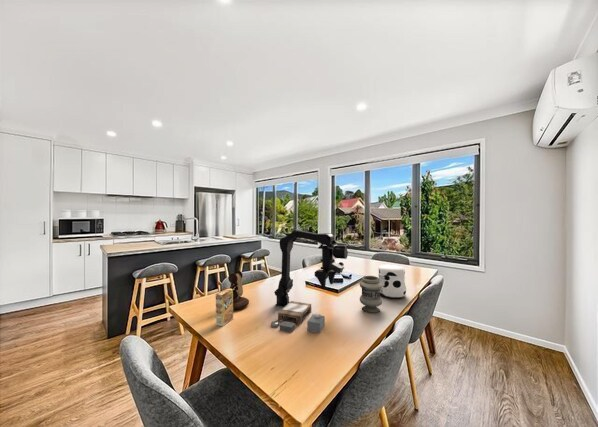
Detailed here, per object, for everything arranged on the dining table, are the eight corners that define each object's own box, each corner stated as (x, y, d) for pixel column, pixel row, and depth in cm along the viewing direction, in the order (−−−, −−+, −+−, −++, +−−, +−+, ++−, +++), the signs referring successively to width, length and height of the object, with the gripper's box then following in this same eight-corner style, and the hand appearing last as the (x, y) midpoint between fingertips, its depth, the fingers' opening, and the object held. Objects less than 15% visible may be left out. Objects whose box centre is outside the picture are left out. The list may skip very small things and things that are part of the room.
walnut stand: (278, 320, 117) (278, 311, 117) (291, 308, 132) (291, 300, 132) (300, 324, 113) (300, 315, 113) (311, 311, 127) (311, 303, 127)
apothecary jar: (355, 310, 128) (355, 277, 128) (365, 304, 137) (365, 273, 136) (376, 317, 120) (376, 282, 119) (386, 309, 128) (386, 277, 128)
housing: (307, 331, 107) (307, 319, 107) (312, 323, 114) (312, 312, 114) (320, 333, 105) (319, 321, 105) (324, 325, 112) (324, 313, 112)
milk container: (408, 293, 153) (407, 266, 153) (403, 302, 138) (403, 272, 138) (380, 289, 162) (380, 263, 162) (374, 297, 148) (374, 268, 147)
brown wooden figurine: (242, 312, 127) (242, 275, 127) (217, 310, 129) (217, 274, 129) (252, 302, 141) (252, 269, 141) (230, 300, 144) (229, 268, 144)
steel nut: (269, 327, 111) (269, 323, 111) (273, 323, 115) (273, 320, 115) (277, 328, 109) (277, 325, 109) (280, 324, 113) (280, 321, 113)
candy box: (223, 326, 111) (222, 294, 111) (215, 325, 112) (215, 293, 112) (233, 318, 120) (233, 288, 119) (226, 317, 121) (226, 288, 121)
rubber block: (279, 330, 108) (279, 325, 108) (283, 326, 112) (283, 321, 112) (291, 332, 106) (291, 327, 105) (295, 328, 109) (295, 323, 109)
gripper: (334, 262, 112) (334, 294, 112) (348, 255, 128) (348, 284, 128) (313, 259, 118) (314, 290, 118) (329, 254, 134) (329, 281, 134)
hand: (327, 286), depth 124 cm, fingers open, 9 cm apart
